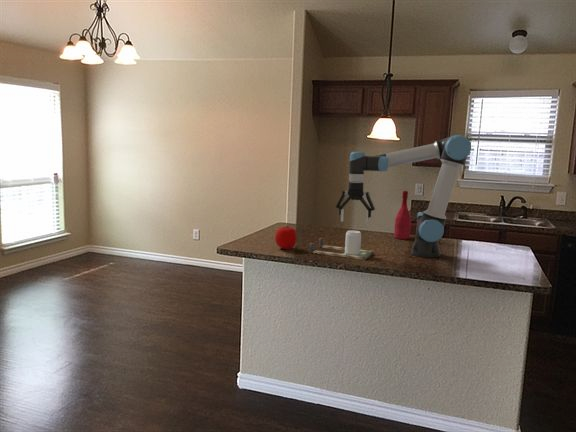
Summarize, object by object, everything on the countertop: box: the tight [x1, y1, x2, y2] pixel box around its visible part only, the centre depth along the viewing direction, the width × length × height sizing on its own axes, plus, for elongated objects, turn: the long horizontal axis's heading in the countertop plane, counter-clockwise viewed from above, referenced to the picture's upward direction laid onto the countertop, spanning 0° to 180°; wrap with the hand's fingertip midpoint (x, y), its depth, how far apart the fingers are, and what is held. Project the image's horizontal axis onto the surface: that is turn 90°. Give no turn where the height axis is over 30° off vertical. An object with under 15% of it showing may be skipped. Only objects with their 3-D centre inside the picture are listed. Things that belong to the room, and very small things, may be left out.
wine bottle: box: [393, 190, 412, 240], centre depth 292 cm, size 10×10×30 cm
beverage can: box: [344, 229, 362, 255], centre depth 247 cm, size 8×8×12 cm
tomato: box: [274, 225, 297, 250], centre depth 255 cm, size 12×12×13 cm
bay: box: [309, 237, 374, 261], centre depth 250 cm, size 30×17×5 cm, turn 67°
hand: (354, 222), depth 245 cm, fingers open, 13 cm apart
